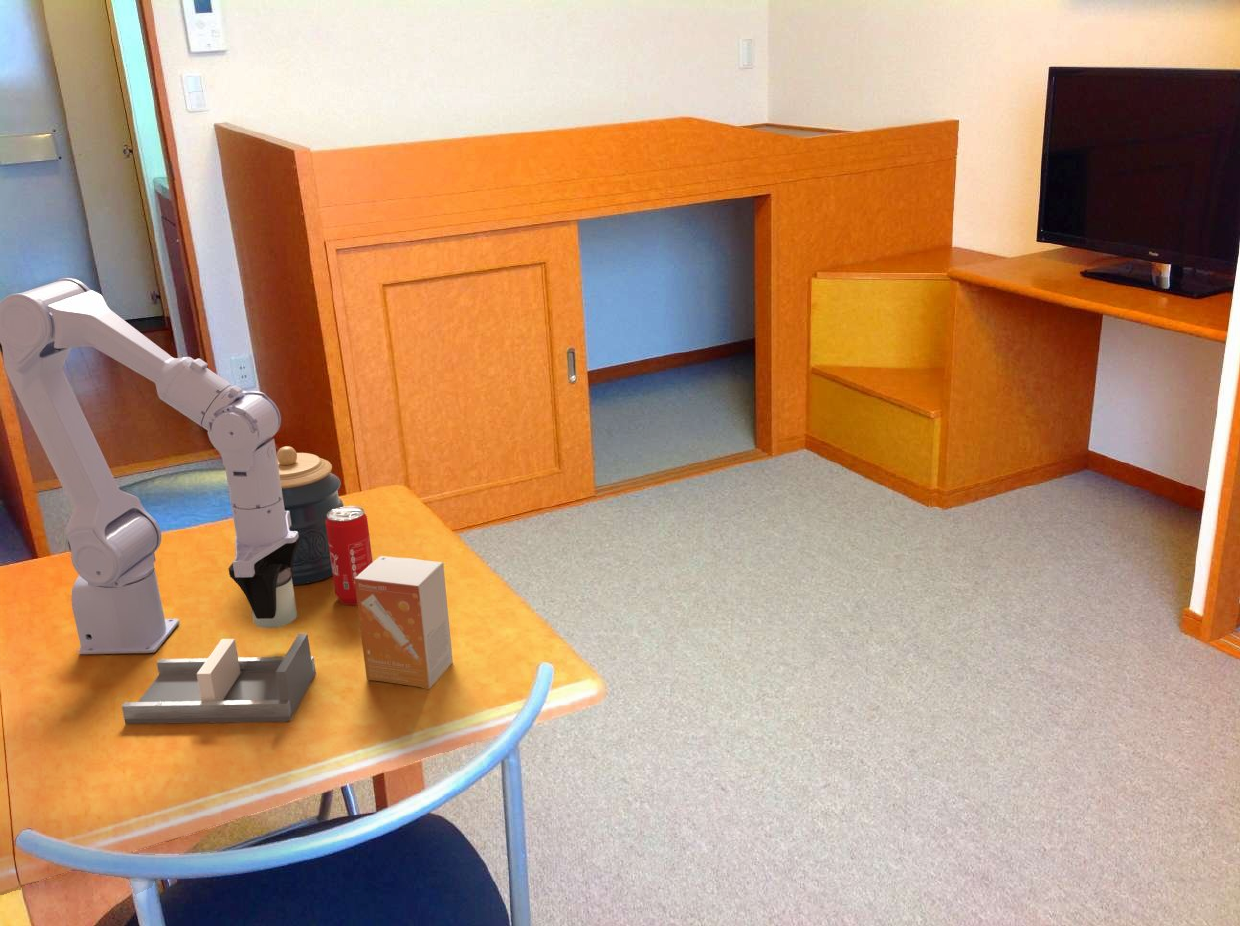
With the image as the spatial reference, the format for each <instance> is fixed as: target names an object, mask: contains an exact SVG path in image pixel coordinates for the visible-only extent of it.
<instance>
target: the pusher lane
mask: <svg viewBox="0 0 1240 926" xmlns="http://www.w3.org/2000/svg"><path fill="white" fill-rule="evenodd" d="M309 640H310V639H309V634H308V632H307V633H298V634H297V636H296V637H295V639H294V641H293V643H292V644H291V645H290V647H289V649H288V651H287V652H286V654H285V656H258V657H255V656H254V657H253V656H252V657H248V656H247V657H238V660H239V666H240V671H241V673H240V675H239V676H238V678H237V679H236V681H235V682H234V684H233V685H232V687H231V689H230V690H229V692H228V693H227V695H226V696H225V698H224V699H223V701H202V700H201V695H200V690H199V684H198V679H197V673H198V671H199V670H200V668H201V667H202V666H203V664H204V663H205V662H206V660H207V659H208V657H204V658H203V657H202V658H201V657H200V658H199V657H197V658H194V657H193V658H192V657H191V658H159V659H158V660H157V662H156V666H157V671H158V676H156V678H155V679H154V681H153V682H152V683H151V685H150V686H149V687H148V688H147V689H146V691H145V692H144V694H143V695H142V696H141V697H140V698H139V700H138V701H128V702H127V701H125V702H123V704H122V705H121V709H122V714H123V720H124V723H125V725H133V724H134V725H140V724H141V725H144V724H146V725H147V724H205V723H209V724H211V723H217V724H218V723H270V722H271V723H272V722H273V723H274V722H275V723H276V722H277V723H278V722H280V723H281V722H291V720H292V718H293V717H294V714H295V712H296V710H298V707H299V705H300V703H301V701H302V699H303V698H304V696H305V694H306V692H307V691H308V689H309V687H310V684H311V683H312V681H313V679H314V678H315V676H316V673H317V670H316V666H315V665H316V664H315V657H314V656H312V654H311V647H310V641H309Z"/></svg>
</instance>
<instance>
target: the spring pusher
mask: <svg viewBox="0 0 1240 926" xmlns="http://www.w3.org/2000/svg"><path fill="white" fill-rule="evenodd" d="M236 643H237V642H236V638H221V639H220V641H219V642H218V643H217V645H216V646H215V648H214V649H213V651H212V652H211V654H210V655H208V657H207V658H208V659H207V660H206V662H205V663H204V664H203V666H202V667H201V668H200V670H199V671H198V673H197V679H198V684H199V690H200V695H201V700H202V701H223V699H224V698H225V696H226V695H227V693H228V692H229V690H230V689H231V687H232V685H233V684H234V682H235V681H236V679H237V678H238V676H239V675H240V673H241V671H240V666H239V660H238V658H239V655H238V649H237V645H236Z"/></svg>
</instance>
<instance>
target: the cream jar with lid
mask: <svg viewBox="0 0 1240 926" xmlns="http://www.w3.org/2000/svg"><path fill="white" fill-rule="evenodd" d="M272 564H280V563H272ZM297 611H298V610H297V605H296V597H295V591H294V585H293V582H292V576H291V569H290V567H289V566H288V565H285V564H282V565H281V568H280V571H279V574H278V578H277V584H276V614H275V617H274V618H272V619H257V618H256V616H255V614H254V612H253V610H252V609H251V613H252V621H253V623H254V625H255V626H256V627H259V628H262V629H274V628H275V629H276V628H281V627H284V626H286V625H289V624H291V623H292V622H293V621H295V620H296V619H297V616H298V612H297Z"/></svg>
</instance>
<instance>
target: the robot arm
mask: <svg viewBox="0 0 1240 926" xmlns="http://www.w3.org/2000/svg"><path fill="white" fill-rule="evenodd" d="M0 345H1V349H2V357H3V367H4V370H5V372H6V375H7V377H8V379H9V381H10V383H11V385H12V387H13V389H14V392H15V393H16V395H17V397H18V399H19V401H20V404H21V405H22V408H23V410H24V412H25V414H26V416H27V418H28V420H29V422H30V424H31V426H32V428H33V430H34V432H35V434H36V436H37V438H38V440H39V443H40V444H41V445H40V446H41V447H42V448H43V450H44V453H45V455H46V456H47V459H48V461H49V462H50V465H51V467H52V468H53V471H54V473H55V475H56V477H57V479H58V482H59V484H60V485H61V487H62V490H63V491H64V493H65V495H66V496H65V497H67V500H68V501H69V504H70V506H71V507H72V511H71V515H70V518H69V520H68V524H67V527H66V529H65V534H64V535H65V538H66V539H67V541H68V543H69V547H70V558H71V563H72V566H73V569H74V570H75V571H76V573H77V574H78V577H76V580H75V581H74V583H73V585H72V588H71V599H70V600H71V607H72V612H73V613H72V614H73V618H74V621H75V626H76V630H77V636H78V639H79V643H80V648H79V649H78V651H77V652H78V654H79V655H105V654H107V655H108V654H109V655H111V654H113V655H114V654H153V653H156V651H158V649H159V648H160V647H161V646H162V644H163V643H164V642H165V641H166V640H167V638H168V637H169V636H170V635H171V633H172V632H173V631H174V630H175V628H176V627H177V626H178V625H179V624H180V620H179V618H166V617H165V613H164V608H163V605H162V599H161V598H162V597H161V594H160V589H159V584H158V577H157V574H156V569H155V563H156V561H157V559H156V555H155V553H156V551H157V550H158V549H159V547H161V543H162V531H161V528H160V525H159V524H158V523H157V521H156V519H154V517H153V516H152V515H151V514H150V513H148V511H147V510H145V508H144V506H143V505H142V503H141V500H140V499H139V497H137V496H136V495H134V494H130V493H128V492H125V491H123V490H121V489H120V488H119V486H118V484H117V482H116V480H115V477H114V475H113V473H112V471H111V468H110V467H109V465H108V463H107V461H106V458H105V456H104V454H103V453H102V452H103V451H102V450H101V448H100V446H99V444H98V442H97V439H96V438H95V435H94V433H93V431H92V429H91V427H90V425H89V422H88V420H87V419H86V417H85V414H84V412H83V410H82V407H81V405H80V404H79V401H78V400H77V397H76V395H75V393H74V391H73V389H72V387H71V384H70V383H69V380H68V378H67V376H66V374H65V372H64V370H63V367H64V364H65V362H66V360H67V359H68V356H69V354H70V352H71V350H72V348H84V347H85V348H86V347H91V348H94V349H95V350H97V351H99V352H101V353H103V354H104V355H106V356H108V357H110V358H111V359H113V360H114V361H117V362H118V363H120V364H122V365H123V366H125V367H127V368H128V369H131V370H132V371H134V372H135V373H137V374H139V375H141V376H143V377H144V378H146V379H148V380H149V381H151V382H153V383H154V385H155V388H156V394H157V397H158V398H159V399H160V400H161V401H163V402H164V403H165V404H167V405H169V406H170V407H172V408H173V409H175V410H176V411H177V412H179V413H180V414H182V415H184V417H185V416H186V417H187V418H188V419H190V420H191V421H193V422H194V423H196V424H197V425H199V426H200V427H201V428H203V429H205V430H206V431H207V436H208V439H209V441H210V443H211V444H212V446H213V448H215V450H216V451H217V452H218V453H219V455H220V457H221V459H222V466H224V469H225V474H226V475H225V476H226V481H227V482H226V483H227V486H228V487H227V488H228V494H229V499H230V500H229V501H230V505H231V511H232V517H233V526H234V530H235V538H234V545H235V546H234V547H235V549H234V550H235V558H234V559H233V560H232V563H231V564H230V565H229V567H228V574H229V577H230V578H231V579H232V580H234V582H235V583H236V584H237V585H238V587H240V589H241V590H242V592H243V594H244V595H245V597H246V599H247V601H248V603H249V605H250V608H251V611H252V610H253V612H254V614H255V616H256V618H257V619H272V618H274V617H275V614H276V584H277V578H278V574H279V571H280V568H281V565H282V564H285V565H288V566H289V567H290V569H291V576H292V567H293V560H294V556H295V552H296V549H297V546H298V543H299V541H300V536H299V535H298V532H297V531H290V530H289V528H290V526H291V518H290V511H285V509H284V503H283V495H282V488H281V482H280V475H279V468H278V461H277V449H276V448H277V447H276V443H275V438H273V437H274V436H275V435H276V434H277V433H278V432H279V430H280V427H281V425H282V424H281V422H282V416H281V413H280V409H279V408H278V406H277V405H276V403H275V402H274V401H273V400H272V399H271V398H270V397H269V396H267V395H266V393H264V392H262V391H258V390H249V391H248V390H247V391H246V390H243V388H241V387H240V386H238V385H237V384H235V385H233V384H231V383H230V381H227V380H225V378H222V377H221V376H220V375H218V374H217V373H215V372H214V371H212V370H211V369H209V368H208V365H209V364H208V362H205V361H204V360H203V359H201V358H196V359H194V358H192V357H191V356H183V357H177V358H176V357H173V356H171V354H169V353H168V352H167V351H165V350H164V349H162V348H161V347H160V346H159V345H157V344H156V343H154V342H153V341H152V340H151V339H150V338H149V337H147V336H146V335H144V334H143V333H141V332H140V331H139V330H138V329H136V328H135V327H134V326H132V325H131V324H130V323H128V322H127V321H126V320H125V319H123V318H122V317H120V316H119V315H118V314H117V313H116V312H114V311H113V310H112V309H110V308H109V306H108V304H107V302H106V300H105V299H104V296H103V295H102V294H100V293H99V292H97V291H94V290H93V289H90V288H89V287H88V286H87V284H85V283H83V281H80V280H79V279H76V278H71V277H63V278H59V279H56V280H55V281H53V282H51V283H48V284H45V285H41V286H39V287H35V288H33V289H30V290H26V291H24V292H19V293H18V292H17V293H13V294H9V295H7V296H6V297H4V298H3V299H2V300H1V302H0ZM272 563H280V564H272Z"/></svg>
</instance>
